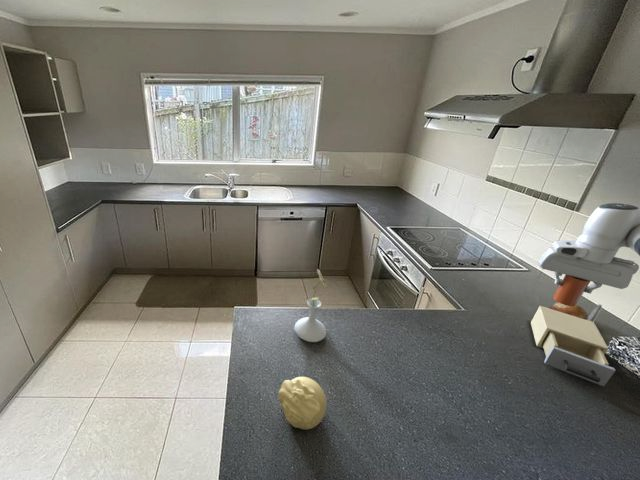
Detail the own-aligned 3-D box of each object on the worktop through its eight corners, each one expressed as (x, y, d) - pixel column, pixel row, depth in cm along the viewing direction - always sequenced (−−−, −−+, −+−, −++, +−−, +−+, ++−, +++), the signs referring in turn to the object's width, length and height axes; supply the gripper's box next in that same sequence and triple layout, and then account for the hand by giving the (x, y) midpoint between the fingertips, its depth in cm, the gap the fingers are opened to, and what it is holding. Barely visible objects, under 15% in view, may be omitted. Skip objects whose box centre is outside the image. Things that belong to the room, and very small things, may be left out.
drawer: (608, 397, 82) (621, 380, 80) (546, 372, 90) (556, 356, 87) (589, 356, 96) (600, 341, 94) (537, 337, 104) (545, 323, 101)
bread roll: (577, 323, 118) (582, 305, 118) (591, 329, 109) (597, 309, 109) (546, 314, 123) (551, 297, 123) (557, 318, 114) (562, 300, 114)
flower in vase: (323, 349, 96) (334, 288, 86) (291, 339, 99) (298, 280, 90) (327, 323, 107) (337, 268, 98) (298, 316, 111) (304, 261, 101)
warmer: (595, 368, 93) (608, 348, 90) (536, 346, 101) (546, 327, 98) (582, 340, 105) (593, 322, 101) (530, 322, 113) (539, 305, 109)
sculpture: (270, 413, 75) (273, 385, 71) (297, 385, 83) (301, 359, 79) (305, 448, 67) (310, 419, 63) (331, 414, 75) (337, 386, 71)
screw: (585, 328, 111) (596, 337, 107) (571, 325, 112) (581, 334, 107) (602, 301, 106) (614, 309, 102) (587, 299, 107) (598, 307, 102)
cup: (573, 300, 97) (587, 276, 94) (577, 308, 93) (593, 283, 89) (551, 294, 100) (564, 270, 97) (554, 301, 96) (568, 277, 92)
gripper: (637, 259, 86) (613, 295, 92) (547, 239, 97) (530, 273, 103) (647, 267, 81) (621, 305, 87) (551, 245, 92) (533, 281, 98)
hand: (571, 287), depth 95 cm, fingers closed on cup, 5 cm apart
